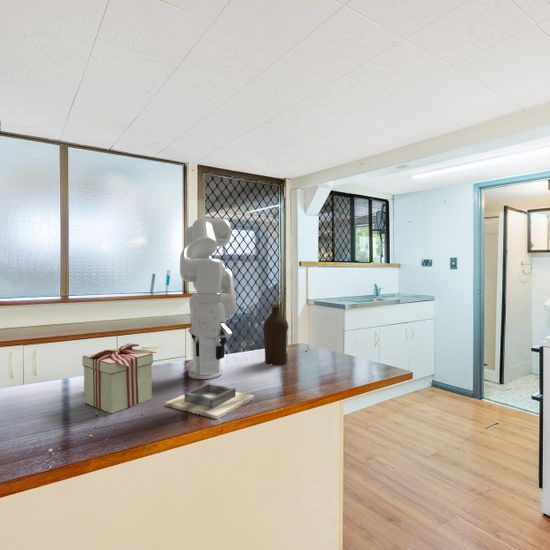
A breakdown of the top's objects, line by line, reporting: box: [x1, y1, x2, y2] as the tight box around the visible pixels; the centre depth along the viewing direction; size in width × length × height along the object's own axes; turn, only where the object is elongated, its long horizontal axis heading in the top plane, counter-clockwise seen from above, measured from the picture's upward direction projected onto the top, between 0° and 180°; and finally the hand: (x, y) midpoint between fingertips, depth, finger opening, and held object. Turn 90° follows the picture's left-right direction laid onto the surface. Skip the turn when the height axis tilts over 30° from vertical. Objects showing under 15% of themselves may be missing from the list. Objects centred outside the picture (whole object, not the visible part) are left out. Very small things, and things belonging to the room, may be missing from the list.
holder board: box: [165, 382, 255, 420], centre depth 118 cm, size 20×18×4 cm
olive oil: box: [263, 303, 289, 366], centre depth 163 cm, size 11×11×25 cm
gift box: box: [81, 343, 157, 414], centre depth 119 cm, size 17×18×17 cm
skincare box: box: [199, 335, 222, 375], centre depth 117 cm, size 6×4×12 cm
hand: (210, 356), depth 117 cm, fingers closed on skincare box, 7 cm apart
